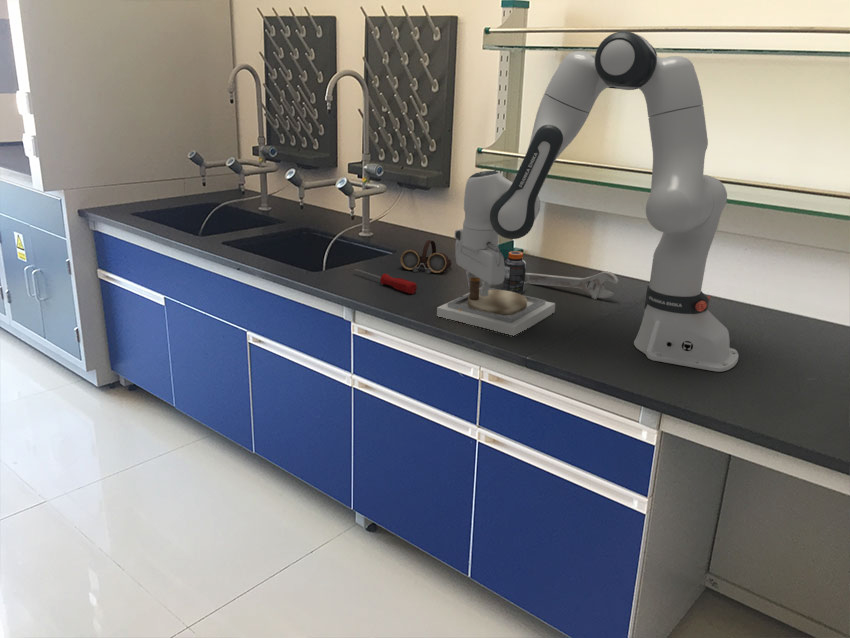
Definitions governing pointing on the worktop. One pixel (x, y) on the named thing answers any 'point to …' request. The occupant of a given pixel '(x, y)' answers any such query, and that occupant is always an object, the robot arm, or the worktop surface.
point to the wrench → (577, 282)
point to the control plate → (497, 315)
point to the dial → (495, 300)
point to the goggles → (426, 260)
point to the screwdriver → (396, 282)
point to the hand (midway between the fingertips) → (477, 291)
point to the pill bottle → (514, 272)
